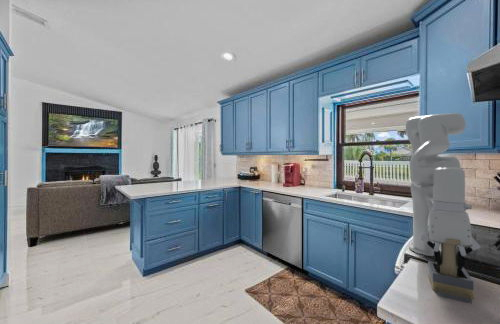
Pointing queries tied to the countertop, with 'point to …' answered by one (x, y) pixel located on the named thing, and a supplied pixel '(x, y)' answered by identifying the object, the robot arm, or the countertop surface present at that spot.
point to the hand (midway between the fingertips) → (448, 264)
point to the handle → (449, 257)
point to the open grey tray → (451, 283)
